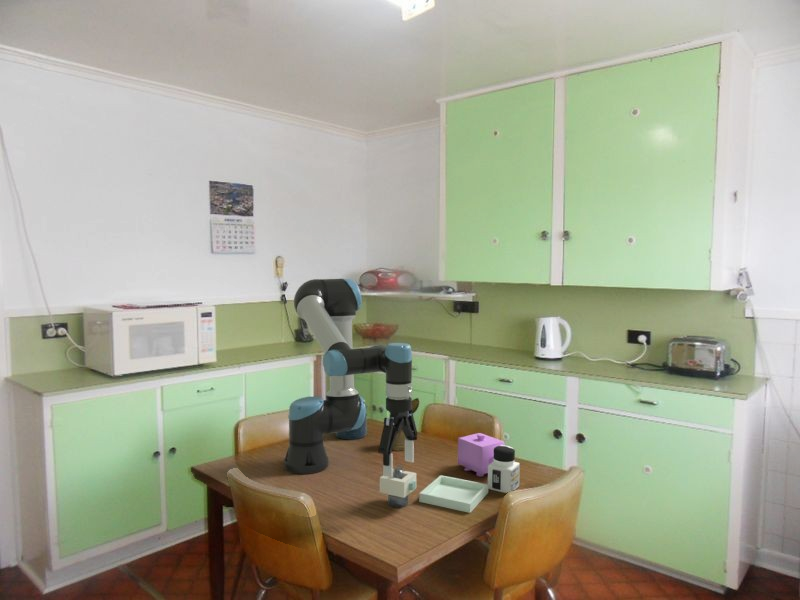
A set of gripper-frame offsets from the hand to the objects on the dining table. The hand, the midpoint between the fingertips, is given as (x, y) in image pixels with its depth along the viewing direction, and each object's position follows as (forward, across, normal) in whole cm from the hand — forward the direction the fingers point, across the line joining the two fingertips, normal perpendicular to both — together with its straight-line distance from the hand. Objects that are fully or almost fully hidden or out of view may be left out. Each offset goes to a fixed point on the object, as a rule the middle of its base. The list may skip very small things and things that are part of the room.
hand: (398, 468), depth 168 cm
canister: (+10, +49, +48) cm, 69 cm away
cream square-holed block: (+7, 0, 0) cm, 7 cm away
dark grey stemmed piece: (+11, 0, 0) cm, 11 cm away
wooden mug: (+10, +47, +22) cm, 53 cm away
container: (+11, +26, -24) cm, 37 cm away
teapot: (+11, +36, -14) cm, 40 cm away
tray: (+11, +12, -12) cm, 21 cm away
